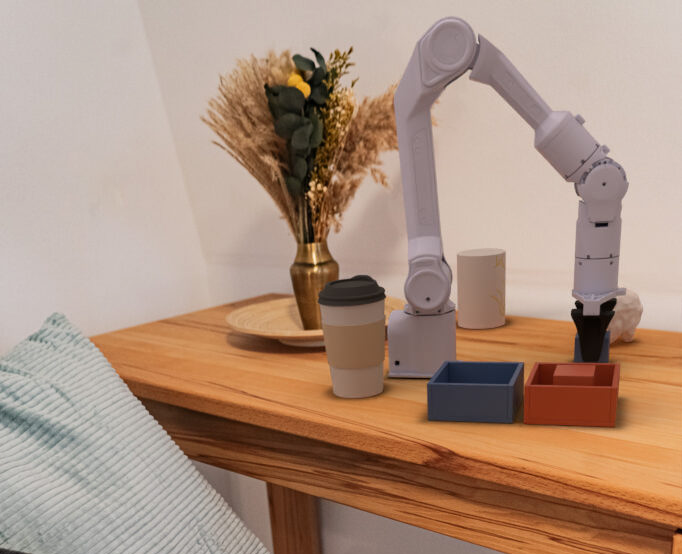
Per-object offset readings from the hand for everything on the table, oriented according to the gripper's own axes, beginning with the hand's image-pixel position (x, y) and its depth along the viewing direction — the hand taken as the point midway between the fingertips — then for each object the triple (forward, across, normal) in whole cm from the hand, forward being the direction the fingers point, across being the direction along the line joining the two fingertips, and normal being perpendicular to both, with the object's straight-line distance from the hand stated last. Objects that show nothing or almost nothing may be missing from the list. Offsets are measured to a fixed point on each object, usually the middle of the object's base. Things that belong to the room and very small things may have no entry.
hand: (591, 356), depth 117 cm
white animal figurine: (+2, +15, -1) cm, 15 cm away
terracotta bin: (+1, -20, +1) cm, 20 cm away
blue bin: (+1, -20, +12) cm, 24 cm away
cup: (+2, +26, +20) cm, 33 cm away
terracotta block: (+1, -20, +1) cm, 20 cm away
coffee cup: (+2, -14, +30) cm, 33 cm away
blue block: (+1, 0, 0) cm, 1 cm away
